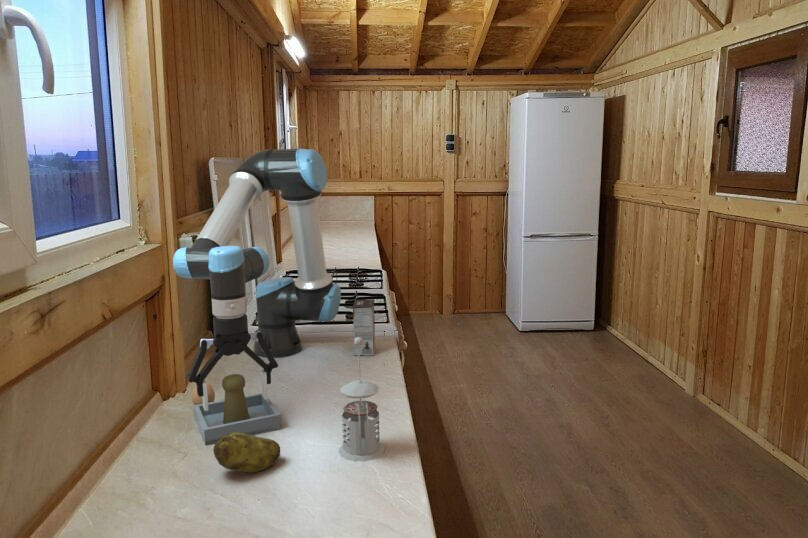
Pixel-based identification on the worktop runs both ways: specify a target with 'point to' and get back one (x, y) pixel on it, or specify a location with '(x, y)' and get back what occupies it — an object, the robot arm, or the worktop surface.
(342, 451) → the french press
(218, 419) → the grey bin
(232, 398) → the cork
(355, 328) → the coffee box
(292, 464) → the worktop surface
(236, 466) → the potato
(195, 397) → the egg
